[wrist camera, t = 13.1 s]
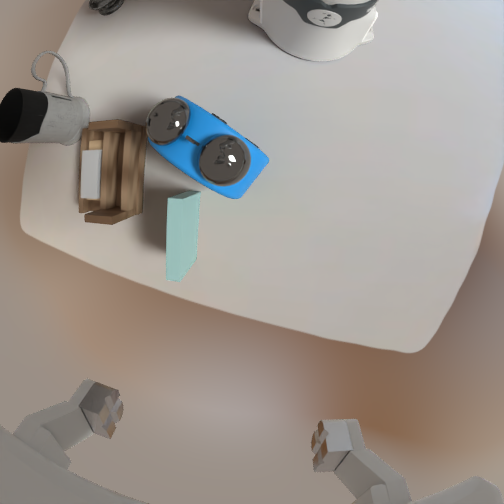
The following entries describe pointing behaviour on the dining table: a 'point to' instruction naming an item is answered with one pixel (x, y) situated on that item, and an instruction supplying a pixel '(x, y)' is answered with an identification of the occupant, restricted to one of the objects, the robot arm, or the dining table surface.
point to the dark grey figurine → (105, 5)
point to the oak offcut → (95, 146)
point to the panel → (181, 234)
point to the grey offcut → (91, 174)
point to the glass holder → (43, 114)
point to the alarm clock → (204, 146)
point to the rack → (116, 171)
